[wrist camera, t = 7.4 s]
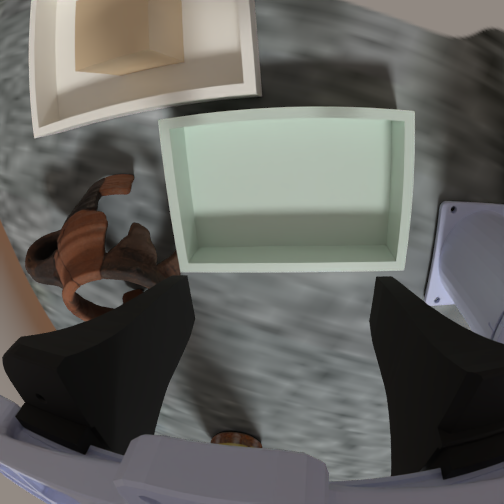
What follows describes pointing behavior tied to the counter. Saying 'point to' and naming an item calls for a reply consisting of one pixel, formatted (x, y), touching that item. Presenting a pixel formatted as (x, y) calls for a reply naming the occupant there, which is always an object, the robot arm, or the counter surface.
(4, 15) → the counter surface
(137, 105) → the cream bin
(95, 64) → the sandstone block
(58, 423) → the robot arm
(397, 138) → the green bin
